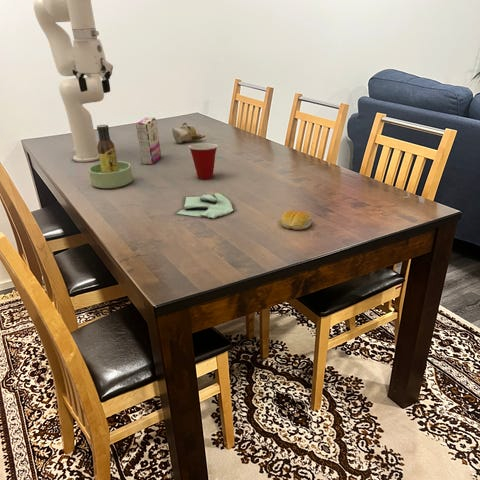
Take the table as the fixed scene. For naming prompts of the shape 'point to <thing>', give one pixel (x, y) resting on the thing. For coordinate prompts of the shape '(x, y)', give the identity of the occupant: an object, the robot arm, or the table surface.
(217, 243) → the table surface
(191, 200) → the cloth
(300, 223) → the bread roll
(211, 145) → the plastic cup
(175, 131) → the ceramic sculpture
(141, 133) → the candy bar box
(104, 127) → the sauce bottle
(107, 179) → the bowl
